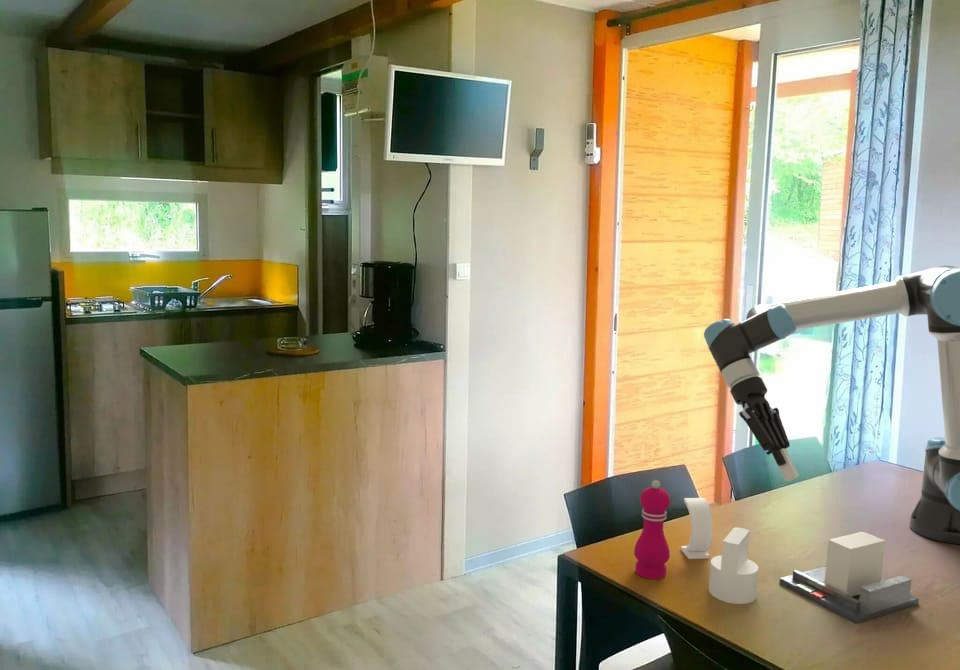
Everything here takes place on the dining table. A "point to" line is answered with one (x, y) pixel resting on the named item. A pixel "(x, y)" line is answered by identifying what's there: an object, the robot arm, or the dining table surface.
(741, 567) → the base with upright slab
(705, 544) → the headphone stand
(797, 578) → the track
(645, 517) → the pepper mill
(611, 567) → the dining table surface
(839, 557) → the white block
